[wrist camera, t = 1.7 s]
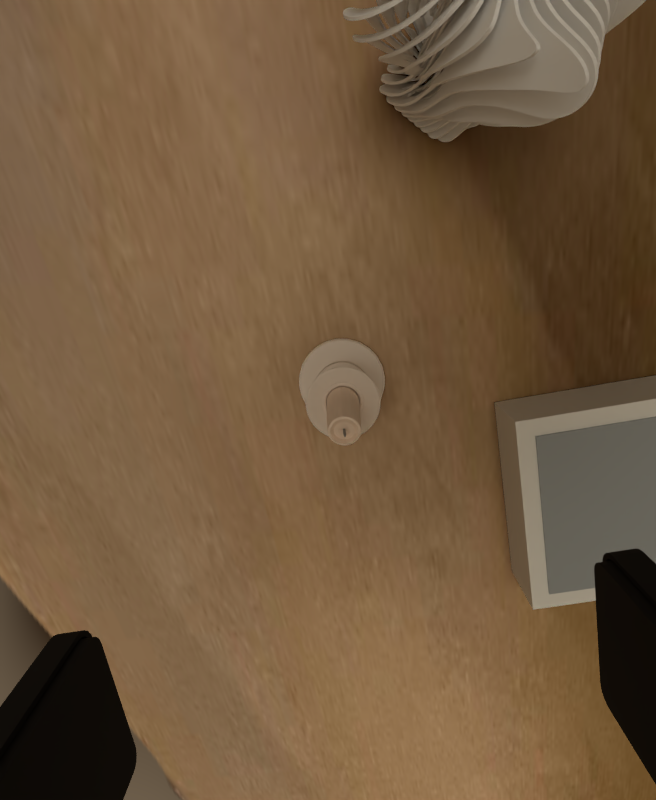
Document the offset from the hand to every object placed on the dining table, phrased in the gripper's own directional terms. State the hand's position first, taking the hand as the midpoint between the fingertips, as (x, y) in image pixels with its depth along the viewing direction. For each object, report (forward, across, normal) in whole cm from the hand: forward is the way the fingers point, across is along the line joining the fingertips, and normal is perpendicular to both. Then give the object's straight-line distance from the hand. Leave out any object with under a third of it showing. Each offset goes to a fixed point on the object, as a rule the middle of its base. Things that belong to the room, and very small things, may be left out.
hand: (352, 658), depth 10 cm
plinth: (+24, -15, +9) cm, 30 cm away
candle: (+24, 0, 0) cm, 24 cm away
